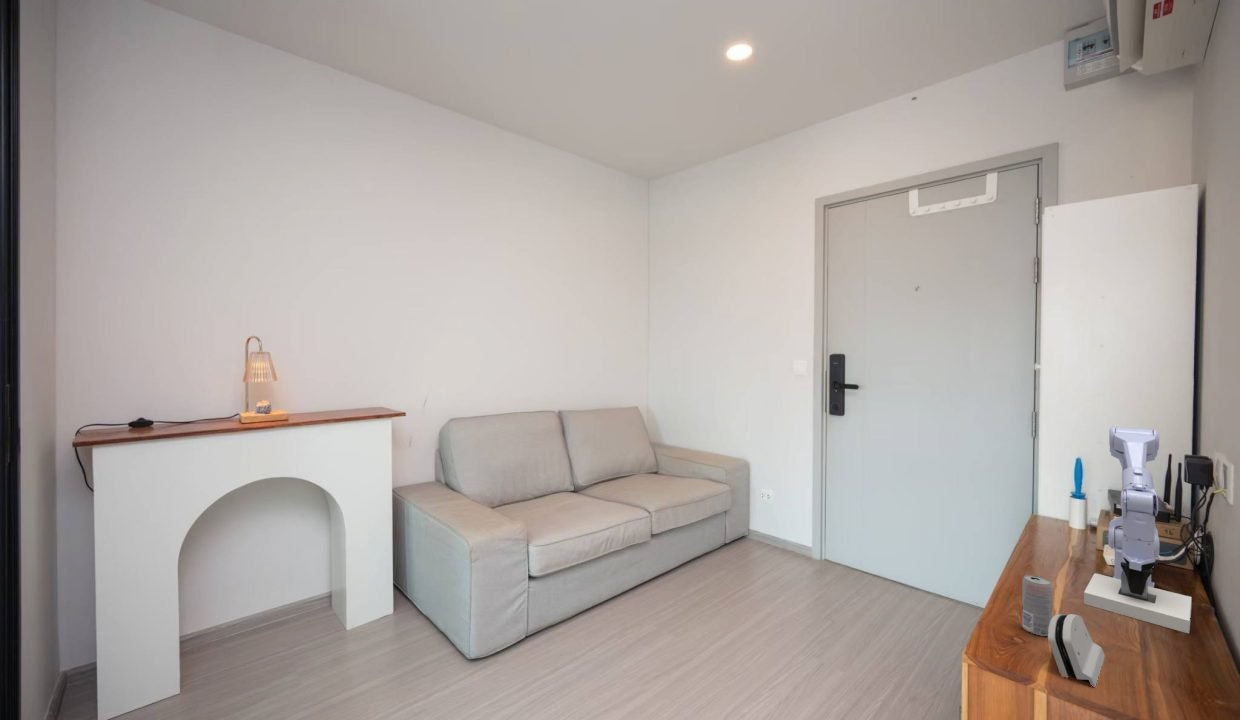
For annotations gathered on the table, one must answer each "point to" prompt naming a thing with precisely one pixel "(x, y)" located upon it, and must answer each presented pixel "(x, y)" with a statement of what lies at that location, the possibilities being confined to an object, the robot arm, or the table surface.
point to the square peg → (1126, 590)
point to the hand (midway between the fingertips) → (1137, 590)
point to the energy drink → (1036, 604)
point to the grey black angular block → (1074, 648)
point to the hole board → (1140, 603)
